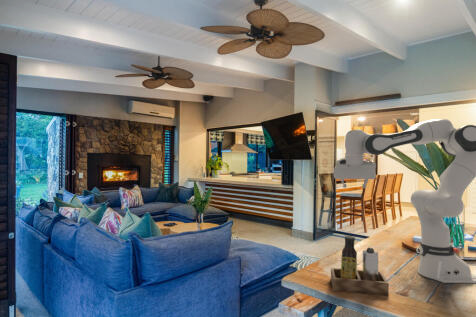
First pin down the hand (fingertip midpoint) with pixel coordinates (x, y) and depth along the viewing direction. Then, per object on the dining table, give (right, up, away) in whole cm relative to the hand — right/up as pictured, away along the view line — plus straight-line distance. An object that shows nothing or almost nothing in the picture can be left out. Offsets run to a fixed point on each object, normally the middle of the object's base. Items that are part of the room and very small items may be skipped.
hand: (354, 187), depth 153 cm
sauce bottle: (-13, -39, -26) cm, 48 cm away
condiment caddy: (-9, -39, -27) cm, 49 cm away
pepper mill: (-4, -39, -28) cm, 49 cm away
